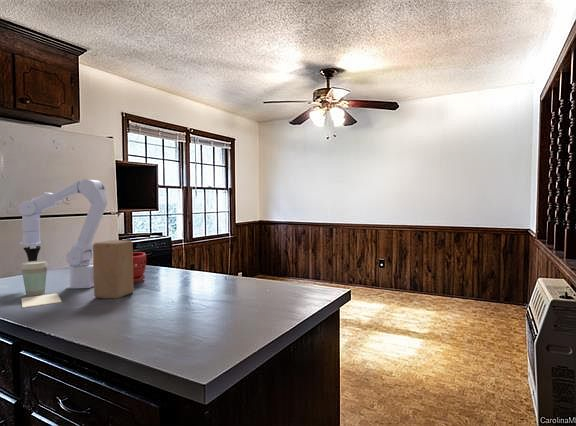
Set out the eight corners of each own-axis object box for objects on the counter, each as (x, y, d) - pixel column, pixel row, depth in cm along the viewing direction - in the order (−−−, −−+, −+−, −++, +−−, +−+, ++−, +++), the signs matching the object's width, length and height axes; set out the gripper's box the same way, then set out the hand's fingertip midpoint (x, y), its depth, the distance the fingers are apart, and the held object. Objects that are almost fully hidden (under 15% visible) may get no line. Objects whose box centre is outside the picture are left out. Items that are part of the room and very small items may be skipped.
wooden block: (117, 299, 130) (116, 243, 129) (93, 298, 132) (91, 242, 131) (134, 292, 140) (133, 240, 139) (111, 291, 142) (110, 239, 141)
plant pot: (113, 280, 162) (113, 253, 162) (145, 277, 168) (144, 251, 167) (113, 286, 150) (112, 257, 150) (147, 283, 156) (147, 255, 155)
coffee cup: (54, 291, 143) (53, 260, 142) (37, 297, 134) (36, 264, 134) (33, 290, 144) (32, 260, 143) (15, 296, 135) (14, 264, 135)
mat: (21, 299, 132) (21, 298, 132) (57, 294, 138) (57, 293, 138) (22, 308, 121) (22, 307, 121) (61, 302, 127) (61, 301, 127)
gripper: (18, 230, 151) (19, 263, 152) (19, 232, 140) (20, 268, 140) (39, 229, 156) (40, 261, 156) (41, 231, 144) (43, 266, 145)
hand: (32, 264), depth 149 cm, fingers closed
